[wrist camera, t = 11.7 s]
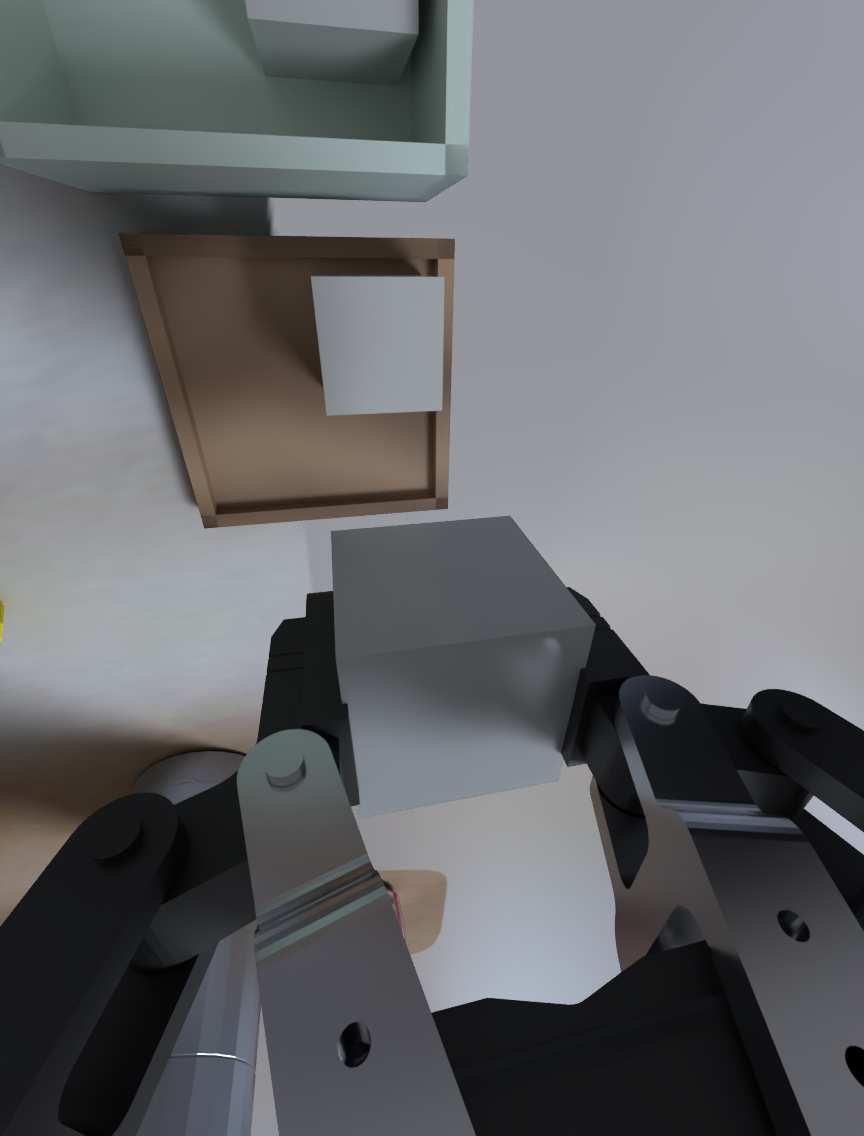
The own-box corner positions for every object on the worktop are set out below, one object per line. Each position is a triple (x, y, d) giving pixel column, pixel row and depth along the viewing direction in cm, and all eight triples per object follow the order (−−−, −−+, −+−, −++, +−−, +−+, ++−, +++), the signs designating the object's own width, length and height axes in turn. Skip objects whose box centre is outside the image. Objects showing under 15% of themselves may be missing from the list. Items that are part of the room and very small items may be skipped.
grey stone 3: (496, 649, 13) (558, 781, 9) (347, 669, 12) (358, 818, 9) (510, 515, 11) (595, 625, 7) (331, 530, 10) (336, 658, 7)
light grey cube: (422, 386, 20) (442, 410, 16) (326, 390, 19) (326, 415, 16) (421, 275, 18) (444, 277, 14) (313, 274, 17) (310, 276, 14)
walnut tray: (441, 496, 24) (447, 508, 22) (210, 514, 22) (204, 528, 21) (446, 240, 18) (454, 239, 17) (133, 235, 16) (118, 233, 15)
